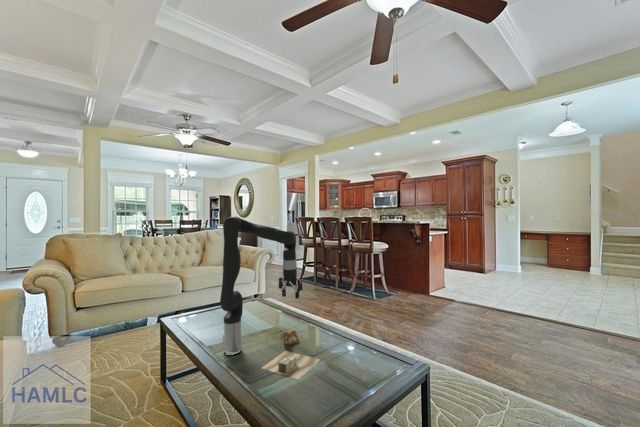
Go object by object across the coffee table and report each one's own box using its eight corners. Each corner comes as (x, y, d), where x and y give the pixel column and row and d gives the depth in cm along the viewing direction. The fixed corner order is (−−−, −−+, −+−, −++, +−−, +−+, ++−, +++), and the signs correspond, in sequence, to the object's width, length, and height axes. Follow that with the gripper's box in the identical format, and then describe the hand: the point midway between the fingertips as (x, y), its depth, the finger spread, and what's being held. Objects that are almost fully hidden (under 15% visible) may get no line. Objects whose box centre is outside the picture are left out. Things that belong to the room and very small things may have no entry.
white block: (289, 362, 145) (278, 371, 138) (289, 354, 145) (278, 362, 138) (296, 364, 143) (285, 373, 136) (296, 356, 143) (284, 364, 136)
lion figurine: (286, 349, 161) (286, 333, 161) (278, 347, 164) (278, 331, 164) (300, 338, 174) (299, 324, 174) (292, 337, 177) (292, 322, 177)
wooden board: (261, 369, 141) (261, 368, 141) (285, 351, 158) (285, 350, 158) (298, 380, 130) (298, 379, 130) (320, 360, 148) (320, 359, 148)
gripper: (275, 268, 158) (276, 297, 158) (296, 269, 151) (297, 300, 151) (283, 265, 164) (284, 294, 164) (304, 267, 157) (305, 297, 157)
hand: (290, 297), depth 157 cm, fingers open, 8 cm apart
